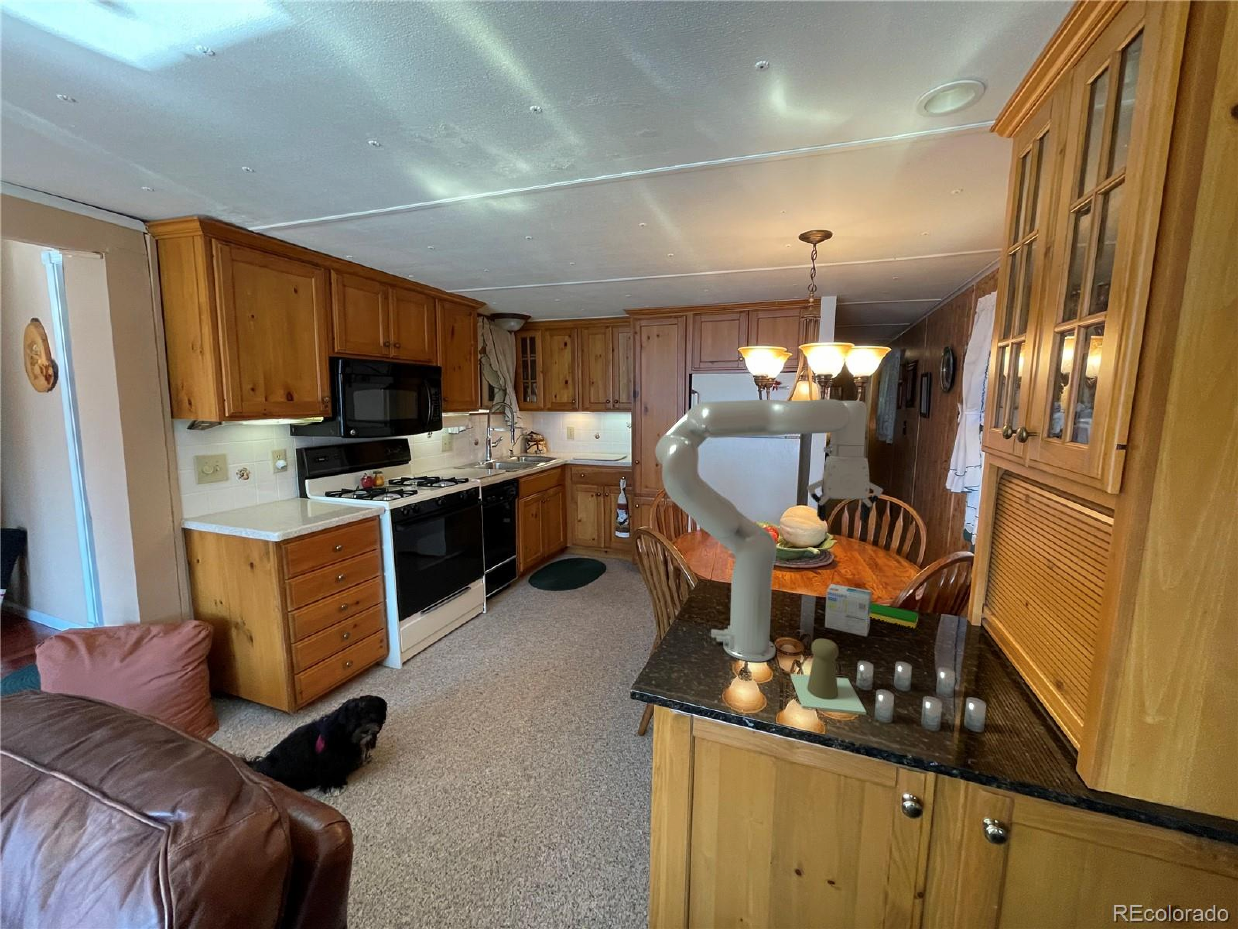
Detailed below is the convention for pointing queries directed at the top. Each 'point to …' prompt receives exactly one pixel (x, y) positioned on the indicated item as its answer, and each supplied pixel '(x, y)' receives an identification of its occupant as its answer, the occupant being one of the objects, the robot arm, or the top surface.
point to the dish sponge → (894, 615)
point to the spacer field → (930, 704)
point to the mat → (843, 702)
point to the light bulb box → (848, 609)
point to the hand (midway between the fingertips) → (842, 520)
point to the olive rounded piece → (823, 670)
